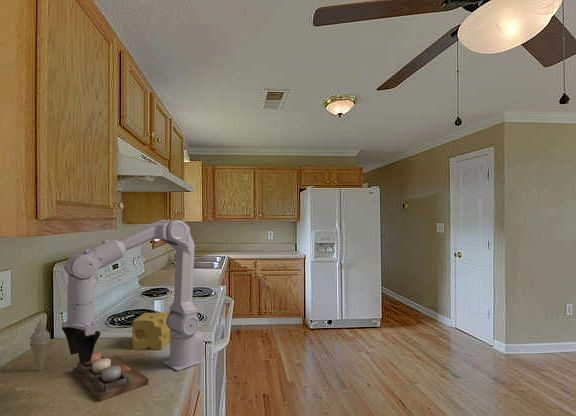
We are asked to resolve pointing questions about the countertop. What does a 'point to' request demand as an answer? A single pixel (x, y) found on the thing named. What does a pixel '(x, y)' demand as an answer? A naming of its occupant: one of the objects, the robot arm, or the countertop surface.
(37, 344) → the ice cream cone
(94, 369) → the cream button
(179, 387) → the countertop surface
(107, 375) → the slate button
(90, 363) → the terracotta button
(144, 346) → the cheese
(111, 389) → the button panel
